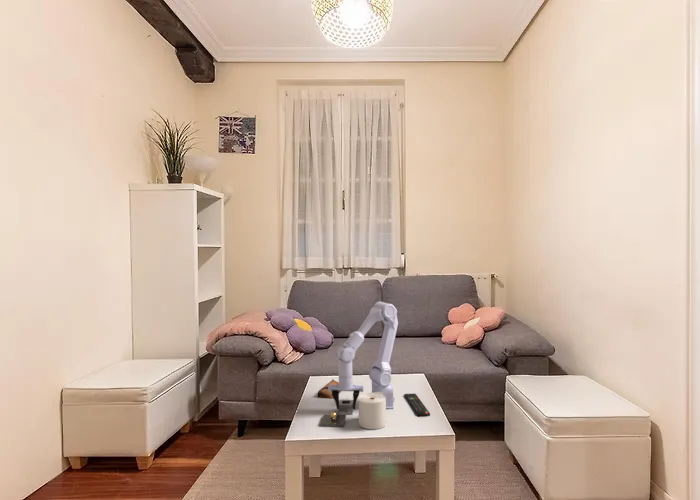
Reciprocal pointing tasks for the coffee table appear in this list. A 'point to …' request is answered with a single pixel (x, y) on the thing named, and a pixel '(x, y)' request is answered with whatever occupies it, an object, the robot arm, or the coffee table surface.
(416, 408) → the remote control
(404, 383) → the coffee table surface
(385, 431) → the coffee table surface
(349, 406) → the grey stepped block
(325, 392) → the sunglasses case
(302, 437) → the coffee table surface
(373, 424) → the toilet tissue
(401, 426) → the coffee table surface
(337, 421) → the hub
